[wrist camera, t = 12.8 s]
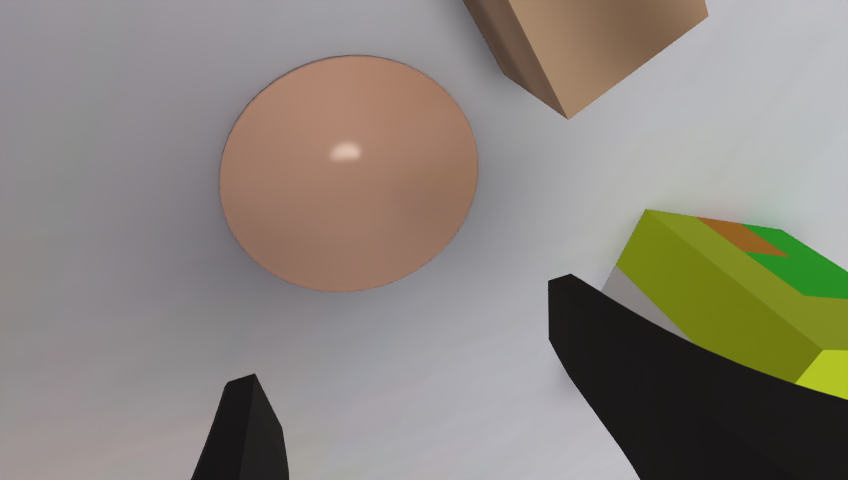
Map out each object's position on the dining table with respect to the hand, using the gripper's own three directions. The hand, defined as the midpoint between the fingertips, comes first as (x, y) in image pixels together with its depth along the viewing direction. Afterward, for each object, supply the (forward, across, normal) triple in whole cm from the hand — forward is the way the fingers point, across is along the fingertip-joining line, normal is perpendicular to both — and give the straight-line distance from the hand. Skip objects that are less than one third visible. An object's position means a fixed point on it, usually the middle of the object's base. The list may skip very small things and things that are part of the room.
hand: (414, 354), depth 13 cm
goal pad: (+10, 0, 0) cm, 10 cm away
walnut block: (+10, -8, -6) cm, 14 cm away
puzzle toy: (+10, -16, +13) cm, 23 cm away
